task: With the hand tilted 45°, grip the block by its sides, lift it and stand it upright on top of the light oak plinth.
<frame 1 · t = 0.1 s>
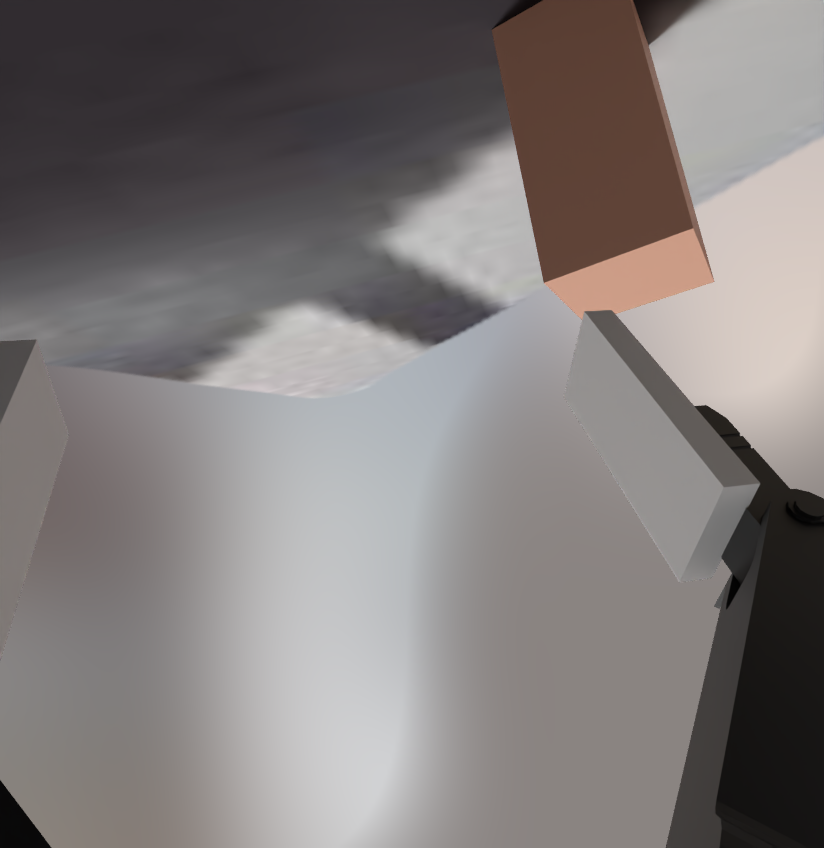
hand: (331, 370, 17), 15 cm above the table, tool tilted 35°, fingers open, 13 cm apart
block: (572, 37, 27), on the table
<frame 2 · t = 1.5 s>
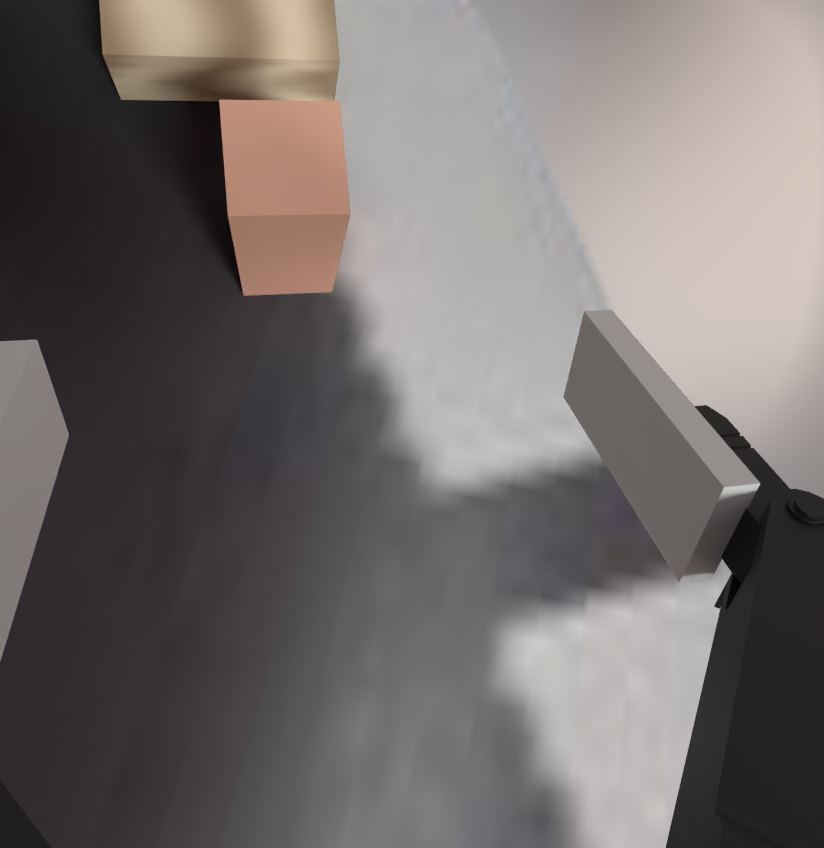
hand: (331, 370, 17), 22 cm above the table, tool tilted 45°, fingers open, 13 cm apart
block: (284, 251, 39), on the table
plinth: (223, 4, 40), on the table
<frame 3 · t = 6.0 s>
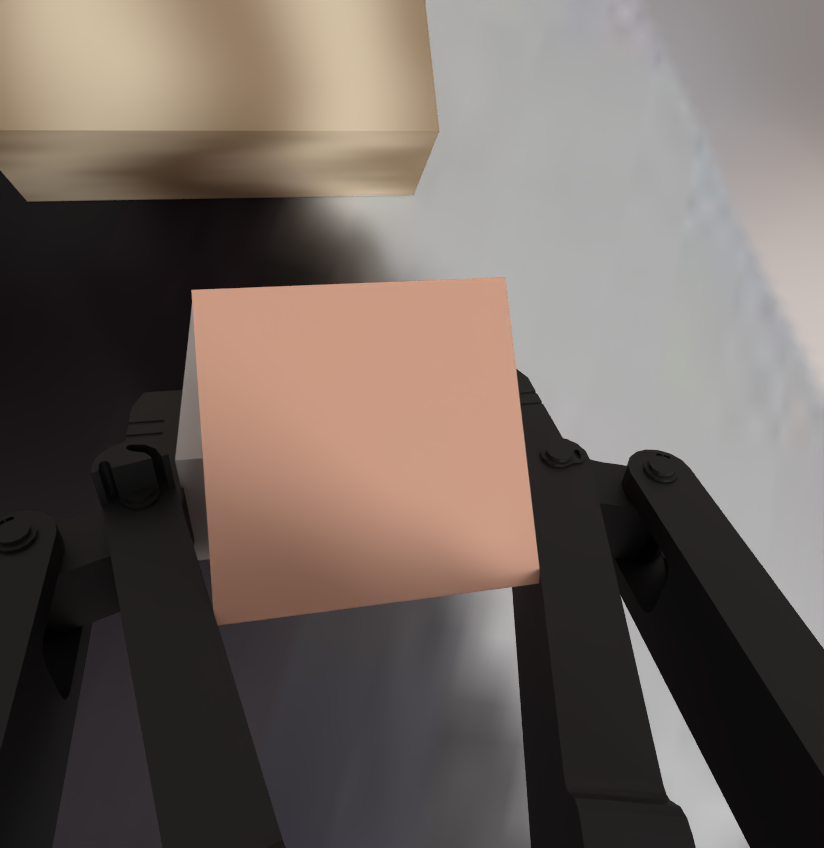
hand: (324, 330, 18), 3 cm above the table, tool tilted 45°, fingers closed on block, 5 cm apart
block: (329, 472, 21), on the table, touching gripper
plinth: (217, 24, 22), on the table
when the fingers open (9 cm above the table, at t = 10.6 s): block drops 1 cm, resting on plinth.
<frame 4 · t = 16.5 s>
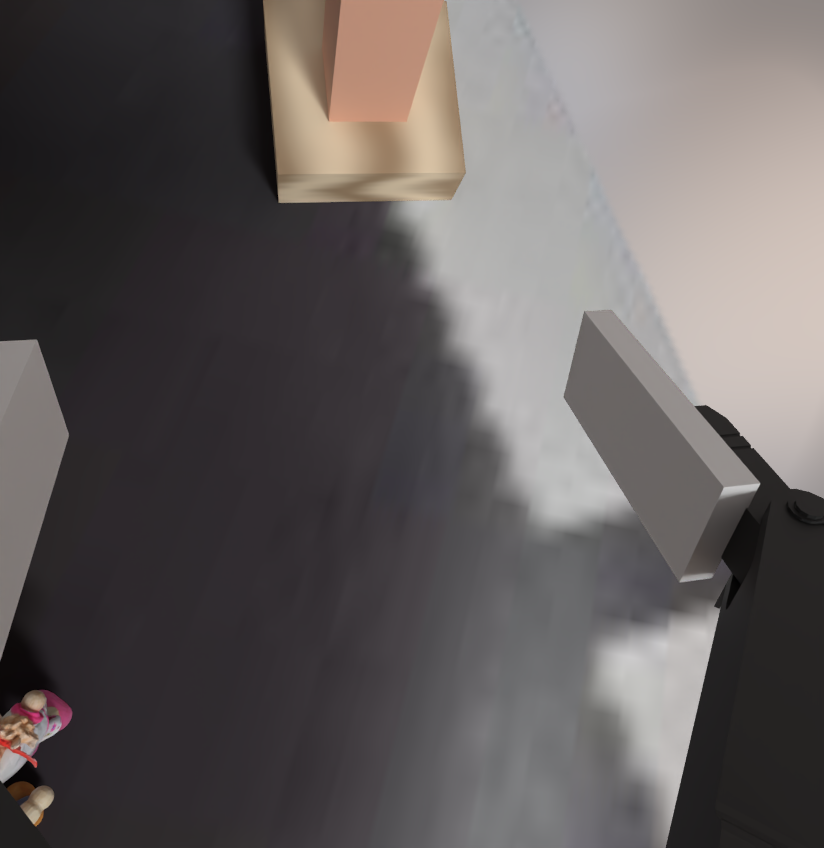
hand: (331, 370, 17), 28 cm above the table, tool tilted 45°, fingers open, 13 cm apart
block: (364, 84, 43), point 4 cm above the table, touching plinth
plinth: (359, 119, 47), on the table
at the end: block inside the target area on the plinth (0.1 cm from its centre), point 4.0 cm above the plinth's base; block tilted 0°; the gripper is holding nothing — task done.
